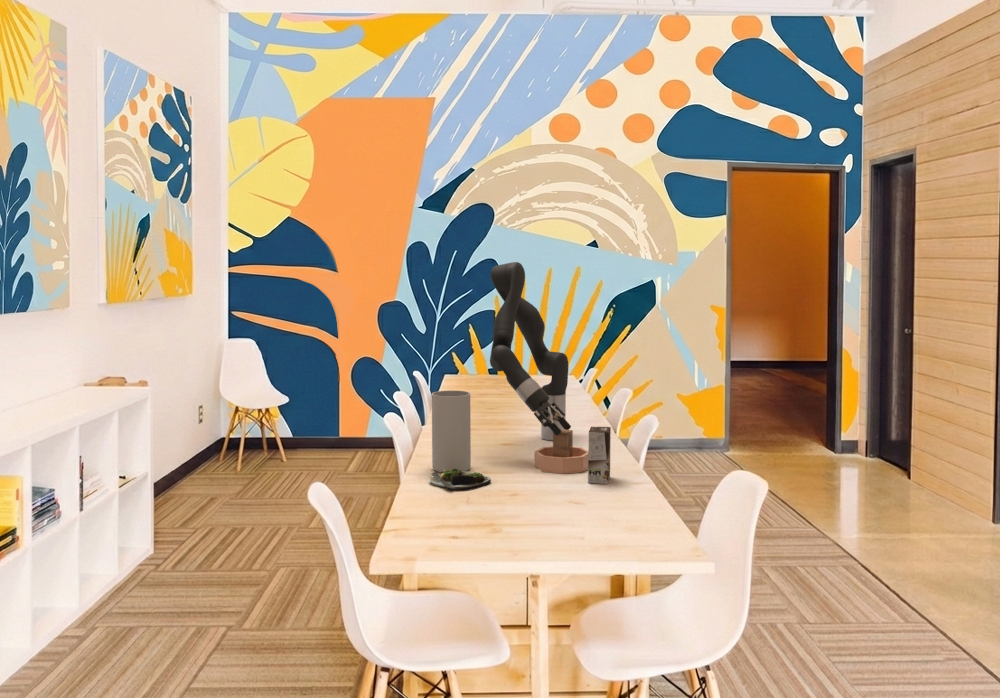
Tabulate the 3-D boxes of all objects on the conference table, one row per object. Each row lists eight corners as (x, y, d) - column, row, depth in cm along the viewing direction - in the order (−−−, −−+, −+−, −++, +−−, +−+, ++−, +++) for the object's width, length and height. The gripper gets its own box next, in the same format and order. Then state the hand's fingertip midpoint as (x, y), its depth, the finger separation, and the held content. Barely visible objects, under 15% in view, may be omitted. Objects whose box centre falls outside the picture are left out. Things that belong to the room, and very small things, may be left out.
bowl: (548, 458, 285) (548, 444, 284) (595, 463, 277) (595, 449, 277) (528, 469, 269) (528, 454, 269) (577, 475, 262) (577, 460, 261)
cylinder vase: (427, 466, 274) (426, 391, 271) (462, 462, 279) (462, 389, 276) (439, 475, 262) (439, 397, 260) (476, 471, 267) (476, 395, 265)
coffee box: (608, 484, 252) (609, 432, 250) (587, 483, 253) (587, 431, 251) (610, 476, 261) (611, 426, 259) (590, 475, 262) (590, 425, 260)
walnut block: (558, 461, 277) (558, 428, 275) (572, 462, 275) (572, 430, 273) (552, 464, 272) (553, 431, 271) (567, 466, 270) (567, 433, 269)
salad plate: (412, 483, 254) (412, 468, 254) (454, 472, 267) (454, 458, 267) (456, 495, 241) (456, 480, 241) (498, 483, 254) (498, 468, 254)
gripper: (531, 390, 268) (563, 428, 264) (548, 384, 281) (579, 420, 277) (516, 405, 271) (548, 442, 267) (533, 398, 283) (564, 434, 280)
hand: (564, 431), depth 272 cm, fingers open, 8 cm apart
